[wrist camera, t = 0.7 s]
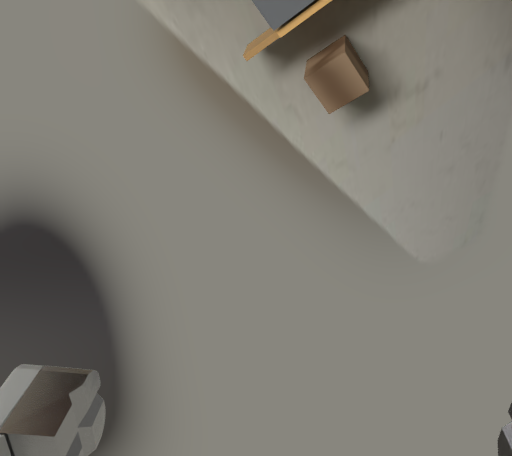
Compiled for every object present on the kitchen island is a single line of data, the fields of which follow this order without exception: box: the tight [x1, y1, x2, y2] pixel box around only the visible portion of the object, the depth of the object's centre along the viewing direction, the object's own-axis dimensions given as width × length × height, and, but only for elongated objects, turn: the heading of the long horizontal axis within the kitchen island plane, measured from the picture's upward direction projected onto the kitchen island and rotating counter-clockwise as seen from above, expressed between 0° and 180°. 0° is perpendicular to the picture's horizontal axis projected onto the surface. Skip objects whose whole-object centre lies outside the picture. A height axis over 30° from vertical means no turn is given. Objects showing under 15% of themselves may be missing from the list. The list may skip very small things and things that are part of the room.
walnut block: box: [304, 35, 369, 114], centre depth 50 cm, size 5×5×5 cm
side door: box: [243, 0, 332, 61], centre depth 46 cm, size 17×1×5 cm, turn 128°
